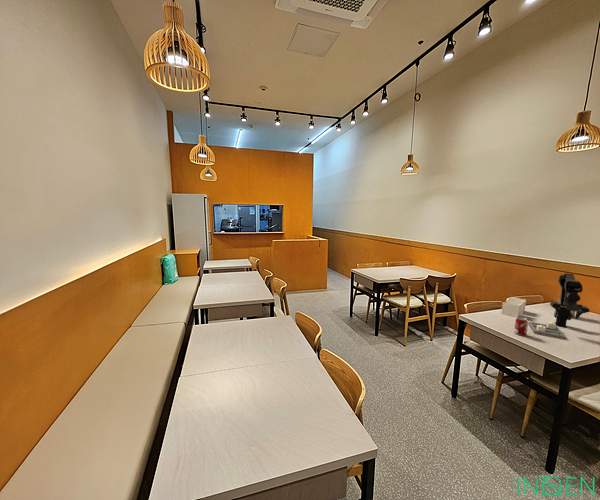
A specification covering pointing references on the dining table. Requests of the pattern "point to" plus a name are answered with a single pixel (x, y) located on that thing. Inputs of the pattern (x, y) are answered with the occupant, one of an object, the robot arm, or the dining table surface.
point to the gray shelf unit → (547, 331)
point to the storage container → (513, 307)
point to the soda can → (521, 326)
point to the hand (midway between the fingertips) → (567, 317)
